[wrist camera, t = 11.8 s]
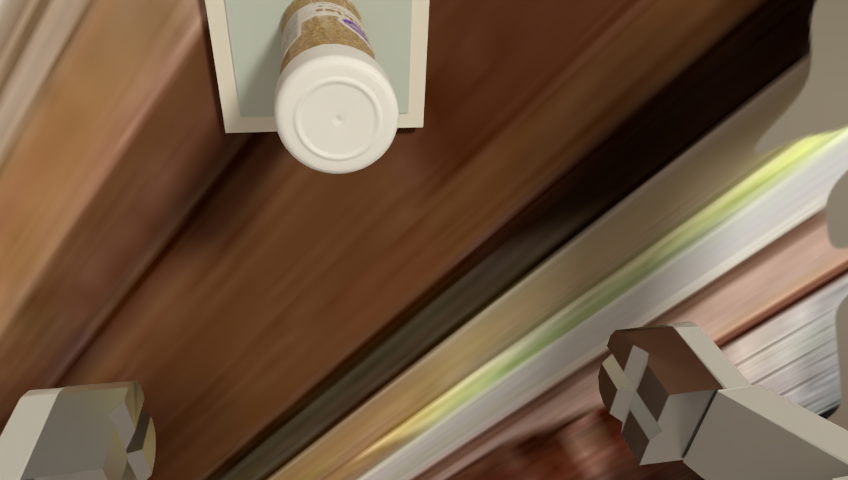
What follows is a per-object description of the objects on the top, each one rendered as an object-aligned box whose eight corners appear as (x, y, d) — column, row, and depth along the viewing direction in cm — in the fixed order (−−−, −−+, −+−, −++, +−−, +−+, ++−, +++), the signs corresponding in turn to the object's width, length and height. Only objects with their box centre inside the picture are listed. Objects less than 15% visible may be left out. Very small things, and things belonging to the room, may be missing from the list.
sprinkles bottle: (376, 12, 31) (423, 92, 20) (342, 85, 33) (367, 194, 22) (299, -30, 29) (303, 33, 18) (267, 49, 31) (253, 150, 20)
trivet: (430, -93, 30) (434, -92, 29) (420, 122, 36) (423, 127, 35) (191, -104, 27) (188, -103, 27) (226, 127, 34) (225, 133, 33)
